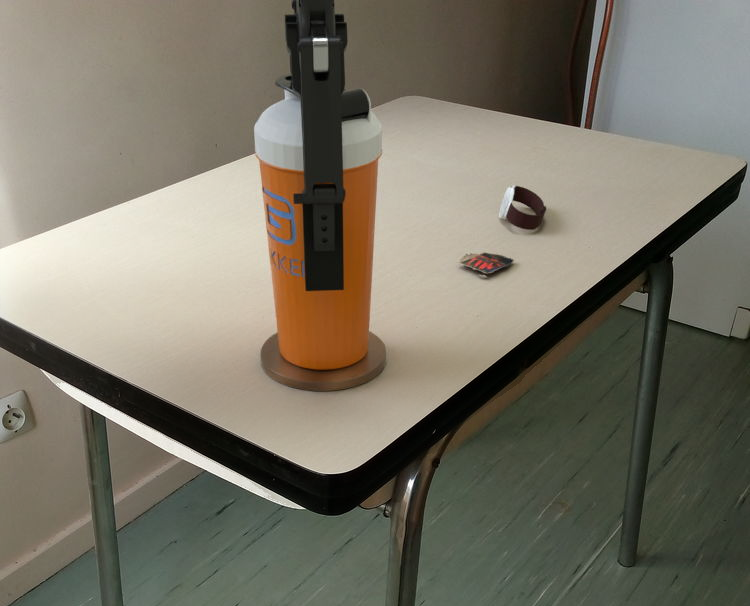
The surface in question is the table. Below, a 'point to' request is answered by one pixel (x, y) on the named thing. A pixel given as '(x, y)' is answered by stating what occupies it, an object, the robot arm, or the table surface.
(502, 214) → the watch
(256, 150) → the shaker bottle
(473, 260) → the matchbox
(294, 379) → the coaster
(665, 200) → the table surface
